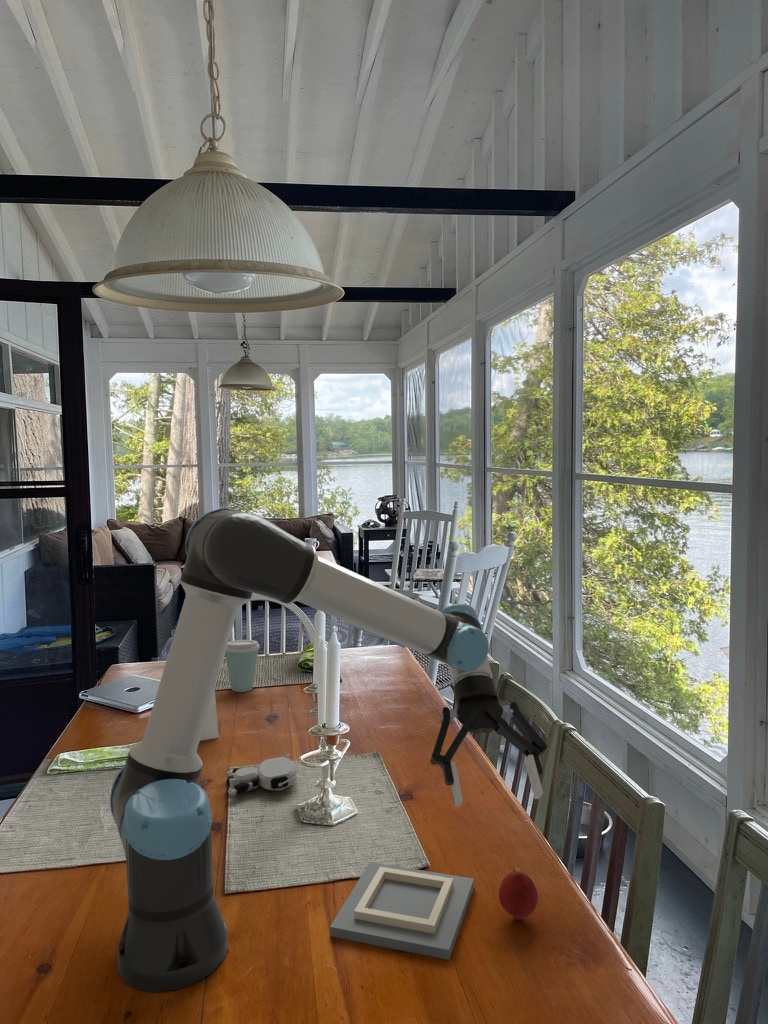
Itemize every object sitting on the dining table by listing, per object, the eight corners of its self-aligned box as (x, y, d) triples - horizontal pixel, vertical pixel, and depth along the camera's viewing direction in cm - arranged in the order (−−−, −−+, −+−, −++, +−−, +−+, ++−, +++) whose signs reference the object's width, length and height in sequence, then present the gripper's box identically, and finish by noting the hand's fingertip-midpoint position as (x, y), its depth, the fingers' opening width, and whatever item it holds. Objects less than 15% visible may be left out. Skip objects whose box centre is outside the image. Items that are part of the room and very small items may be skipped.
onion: (532, 906, 115) (532, 857, 114) (541, 929, 109) (541, 878, 108) (495, 907, 114) (495, 858, 114) (503, 931, 109) (502, 879, 108)
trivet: (449, 960, 103) (448, 941, 102) (330, 936, 108) (329, 918, 108) (473, 887, 120) (473, 871, 120) (369, 870, 125) (369, 855, 125)
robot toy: (229, 808, 151) (301, 793, 154) (226, 787, 150) (299, 773, 154) (226, 783, 162) (293, 770, 166) (224, 763, 162) (291, 750, 166)
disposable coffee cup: (224, 685, 229) (222, 638, 228) (258, 681, 232) (257, 635, 231) (227, 696, 219) (225, 646, 218) (263, 692, 222) (261, 643, 221)
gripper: (532, 687, 139) (564, 800, 125) (403, 697, 135) (422, 815, 121) (543, 668, 133) (577, 784, 120) (408, 677, 129) (428, 799, 116)
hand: (499, 800), depth 120 cm, fingers open, 13 cm apart
